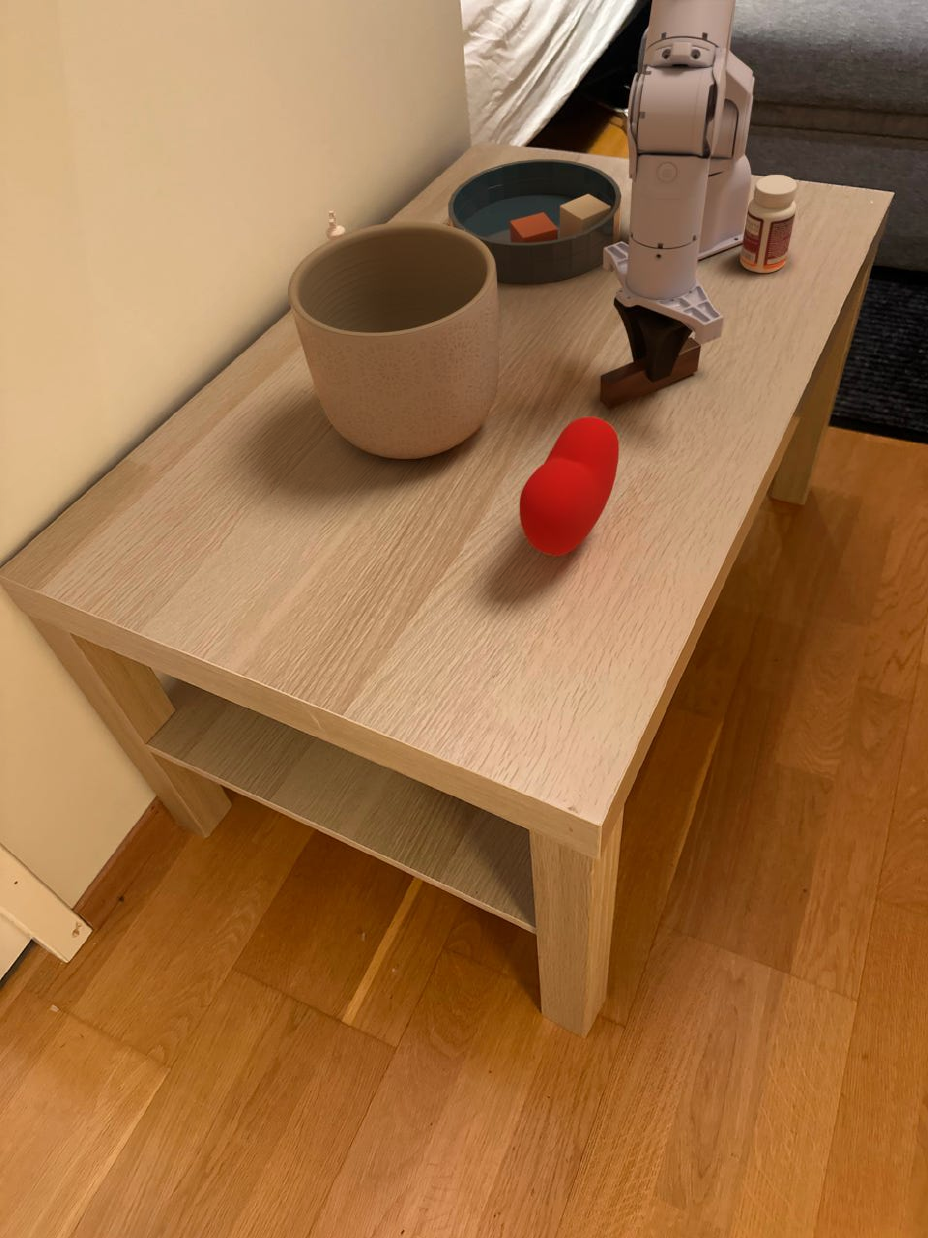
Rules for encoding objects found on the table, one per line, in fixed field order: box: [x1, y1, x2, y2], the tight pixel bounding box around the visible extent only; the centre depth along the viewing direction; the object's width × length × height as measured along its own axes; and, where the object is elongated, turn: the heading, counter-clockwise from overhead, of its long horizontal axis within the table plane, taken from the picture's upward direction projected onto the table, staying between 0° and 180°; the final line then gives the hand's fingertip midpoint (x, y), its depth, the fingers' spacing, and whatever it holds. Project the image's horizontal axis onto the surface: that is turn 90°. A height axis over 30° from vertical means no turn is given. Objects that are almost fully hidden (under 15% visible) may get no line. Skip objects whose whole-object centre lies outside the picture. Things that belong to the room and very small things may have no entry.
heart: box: [519, 416, 620, 557], centre depth 69 cm, size 12×5×10 cm, turn 151°
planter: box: [287, 221, 500, 460], centre depth 78 cm, size 17×17×15 cm
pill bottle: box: [739, 174, 798, 274], centre depth 93 cm, size 5×5×8 cm
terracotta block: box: [510, 212, 558, 243], centre depth 98 cm, size 4×4×4 cm
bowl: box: [447, 158, 623, 285], centre depth 101 cm, size 19×19×4 cm
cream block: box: [560, 194, 611, 238], centre depth 99 cm, size 4×4×4 cm
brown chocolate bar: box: [599, 336, 702, 411], centre depth 83 cm, size 10×2×3 cm, turn 118°
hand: (652, 371), depth 83 cm, fingers closed on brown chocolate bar, 1 cm apart
